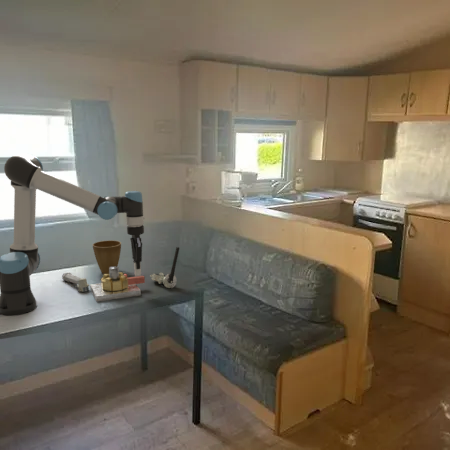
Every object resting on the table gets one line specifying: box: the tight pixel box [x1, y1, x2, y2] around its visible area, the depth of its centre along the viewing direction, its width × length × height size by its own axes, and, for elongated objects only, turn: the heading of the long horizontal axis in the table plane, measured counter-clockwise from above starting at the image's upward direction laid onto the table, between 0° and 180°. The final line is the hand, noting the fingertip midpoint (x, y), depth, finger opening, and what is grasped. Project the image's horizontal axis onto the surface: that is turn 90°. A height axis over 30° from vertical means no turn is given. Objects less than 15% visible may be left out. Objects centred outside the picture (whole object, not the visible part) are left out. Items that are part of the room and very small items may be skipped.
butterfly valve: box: [149, 246, 180, 289], centre depth 228 cm, size 9×20×17 cm
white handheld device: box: [61, 272, 90, 293], centre depth 226 cm, size 5×7×25 cm
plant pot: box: [92, 239, 122, 275], centre depth 247 cm, size 15×15×16 cm
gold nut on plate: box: [89, 266, 142, 302], centre depth 215 cm, size 20×18×12 cm
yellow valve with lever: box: [100, 271, 146, 291], centre depth 217 cm, size 20×12×5 cm, turn 114°
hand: (137, 275), depth 214 cm, fingers closed
